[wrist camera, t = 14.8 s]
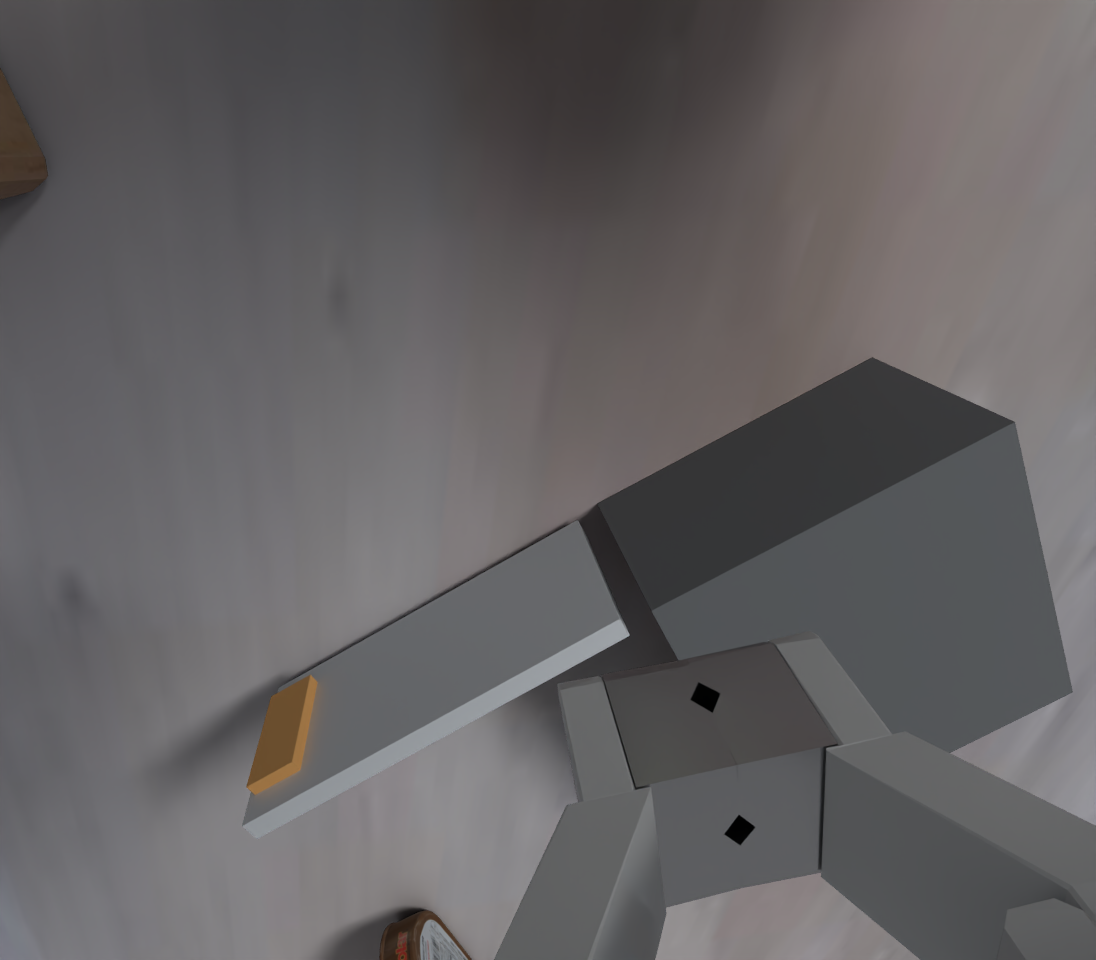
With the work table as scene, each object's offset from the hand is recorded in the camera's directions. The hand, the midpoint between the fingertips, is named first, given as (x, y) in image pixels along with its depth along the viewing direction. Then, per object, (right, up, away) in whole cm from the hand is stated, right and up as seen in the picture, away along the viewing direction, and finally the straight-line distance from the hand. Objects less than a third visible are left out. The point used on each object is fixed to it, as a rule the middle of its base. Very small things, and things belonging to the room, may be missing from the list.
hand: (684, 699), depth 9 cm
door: (-8, -4, +30) cm, 32 cm away
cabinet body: (+12, -1, +33) cm, 35 cm away
